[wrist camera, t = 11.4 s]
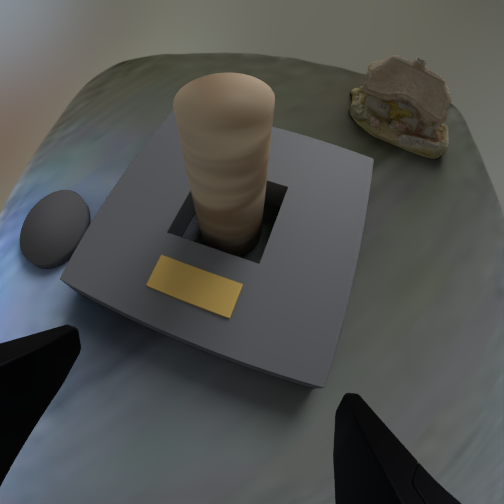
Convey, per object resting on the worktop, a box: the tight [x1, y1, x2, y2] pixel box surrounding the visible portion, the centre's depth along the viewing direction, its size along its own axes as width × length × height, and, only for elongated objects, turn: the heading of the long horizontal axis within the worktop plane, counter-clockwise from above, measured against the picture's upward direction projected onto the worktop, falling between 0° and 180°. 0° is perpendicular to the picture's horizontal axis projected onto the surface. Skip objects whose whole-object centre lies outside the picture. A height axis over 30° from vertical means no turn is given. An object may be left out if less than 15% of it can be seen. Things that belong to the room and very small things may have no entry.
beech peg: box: [173, 73, 275, 256], centre depth 19 cm, size 5×5×13 cm
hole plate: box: [60, 110, 374, 388], centre depth 24 cm, size 20×20×3 cm
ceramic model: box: [350, 55, 451, 159], centre depth 29 cm, size 14×11×10 cm
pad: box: [20, 190, 90, 269], centre depth 24 cm, size 8×8×1 cm
